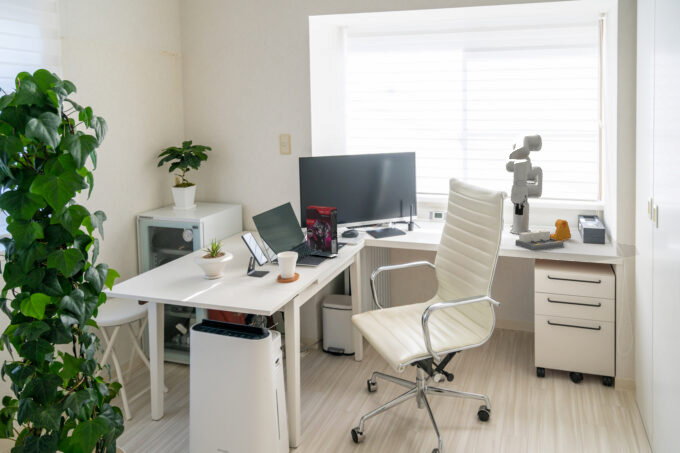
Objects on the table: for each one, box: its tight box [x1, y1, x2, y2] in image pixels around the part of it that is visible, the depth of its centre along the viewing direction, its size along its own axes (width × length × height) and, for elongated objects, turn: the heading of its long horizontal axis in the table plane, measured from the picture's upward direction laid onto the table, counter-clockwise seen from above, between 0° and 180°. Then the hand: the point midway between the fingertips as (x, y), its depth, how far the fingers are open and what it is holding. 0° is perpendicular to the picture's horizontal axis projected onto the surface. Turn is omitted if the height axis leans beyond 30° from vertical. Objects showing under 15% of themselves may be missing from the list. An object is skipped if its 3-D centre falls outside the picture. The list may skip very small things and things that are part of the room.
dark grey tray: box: [515, 238, 565, 252], centre depth 354 cm, size 16×21×3 cm
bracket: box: [550, 218, 572, 242], centre depth 369 cm, size 11×7×12 cm, turn 110°
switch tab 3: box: [537, 229, 551, 240], centre depth 359 cm, size 4×5×5 cm
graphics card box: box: [305, 205, 339, 255], centre depth 340 cm, size 17×7×27 cm, turn 56°
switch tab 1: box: [518, 232, 531, 243], centre depth 354 cm, size 4×5×5 cm
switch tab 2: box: [529, 230, 541, 241], centre depth 357 cm, size 4×5×5 cm
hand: (519, 214), depth 358 cm, fingers closed
